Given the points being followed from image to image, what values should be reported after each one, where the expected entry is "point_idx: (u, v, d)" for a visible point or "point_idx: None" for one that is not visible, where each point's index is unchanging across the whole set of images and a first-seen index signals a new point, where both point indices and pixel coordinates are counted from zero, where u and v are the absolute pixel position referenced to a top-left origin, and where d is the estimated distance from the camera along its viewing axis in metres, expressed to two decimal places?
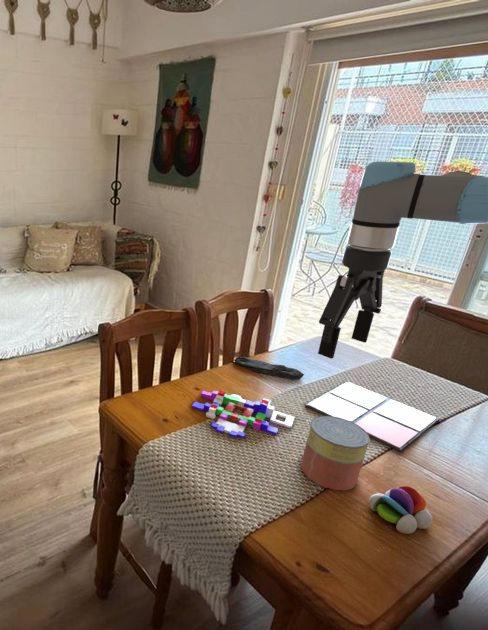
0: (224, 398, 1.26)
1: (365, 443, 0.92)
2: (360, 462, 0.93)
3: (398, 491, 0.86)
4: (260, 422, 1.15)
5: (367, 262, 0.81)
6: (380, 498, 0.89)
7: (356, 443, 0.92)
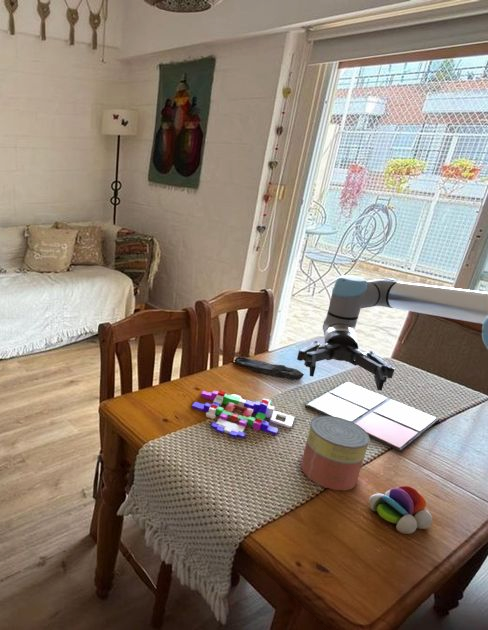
0: (224, 398, 1.26)
1: (365, 443, 0.92)
2: (360, 462, 0.93)
3: (398, 491, 0.86)
4: (260, 422, 1.15)
5: (328, 337, 1.17)
6: (380, 498, 0.89)
7: (356, 443, 0.92)
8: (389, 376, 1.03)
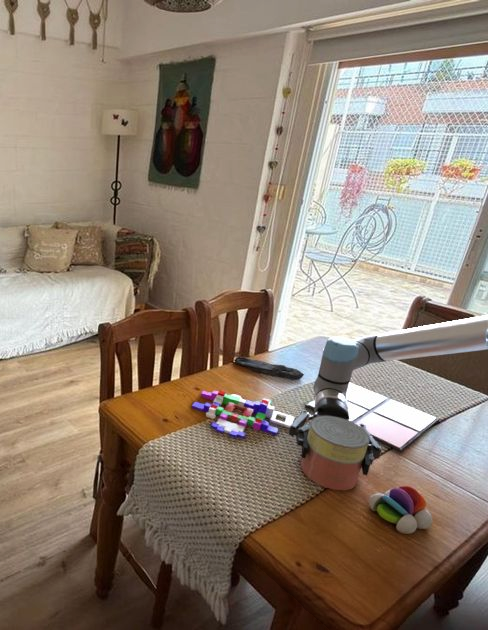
0: (224, 398, 1.26)
1: (365, 443, 0.92)
2: (360, 462, 0.93)
3: (398, 491, 0.86)
4: (260, 422, 1.15)
5: (318, 405, 1.12)
6: (380, 498, 0.89)
7: (356, 443, 0.92)
8: (376, 456, 0.97)
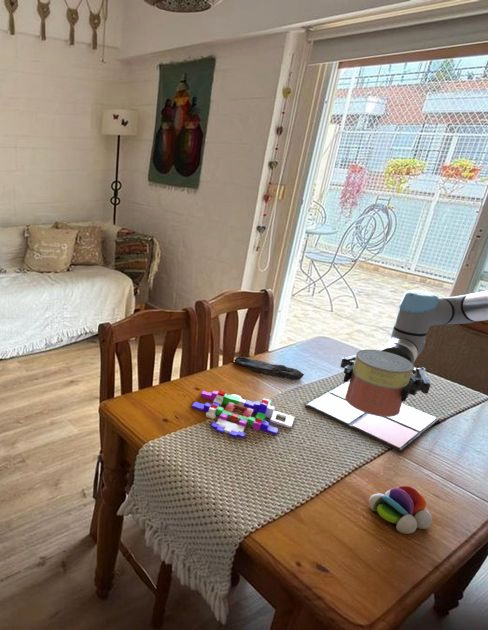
0: (224, 398, 1.26)
1: (405, 370, 0.98)
2: (400, 389, 1.00)
3: (398, 491, 0.86)
4: (260, 422, 1.15)
5: (381, 349, 1.17)
6: (380, 498, 0.89)
7: (396, 369, 0.99)
8: (424, 391, 1.02)
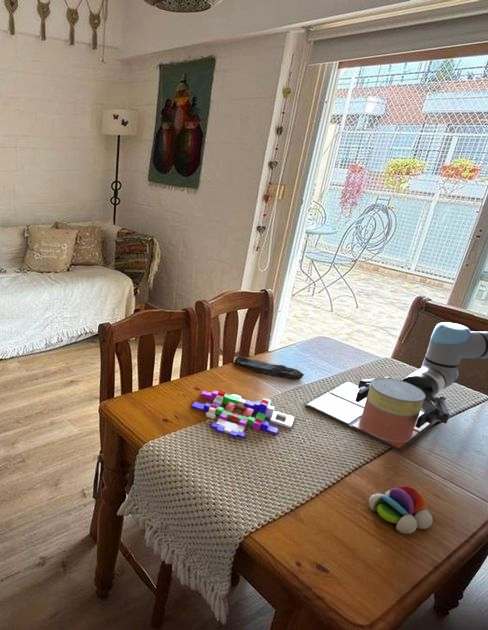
0: (224, 398, 1.26)
1: (414, 400, 1.05)
2: (408, 417, 1.07)
3: (398, 491, 0.86)
4: (260, 422, 1.15)
5: (406, 377, 1.22)
6: (380, 498, 0.89)
7: (405, 398, 1.06)
8: (442, 421, 1.07)
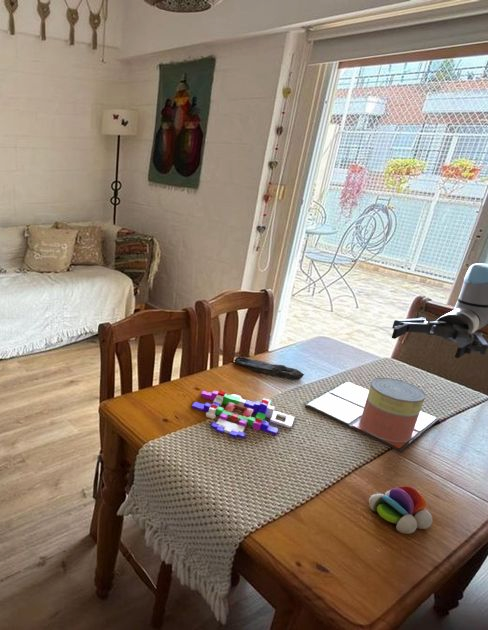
0: (224, 398, 1.26)
1: (414, 400, 1.05)
2: (408, 417, 1.07)
3: (398, 491, 0.86)
4: (260, 422, 1.15)
5: (440, 317, 1.22)
6: (380, 498, 0.89)
7: (405, 398, 1.06)
8: (481, 352, 1.07)
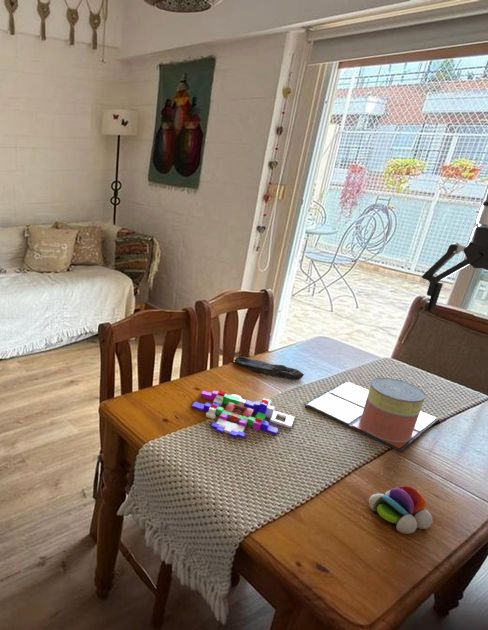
0: (224, 398, 1.26)
1: (414, 400, 1.05)
2: (408, 417, 1.07)
3: (398, 491, 0.86)
4: (260, 422, 1.15)
5: (472, 235, 0.97)
6: (380, 498, 0.89)
7: (405, 398, 1.06)
8: None
